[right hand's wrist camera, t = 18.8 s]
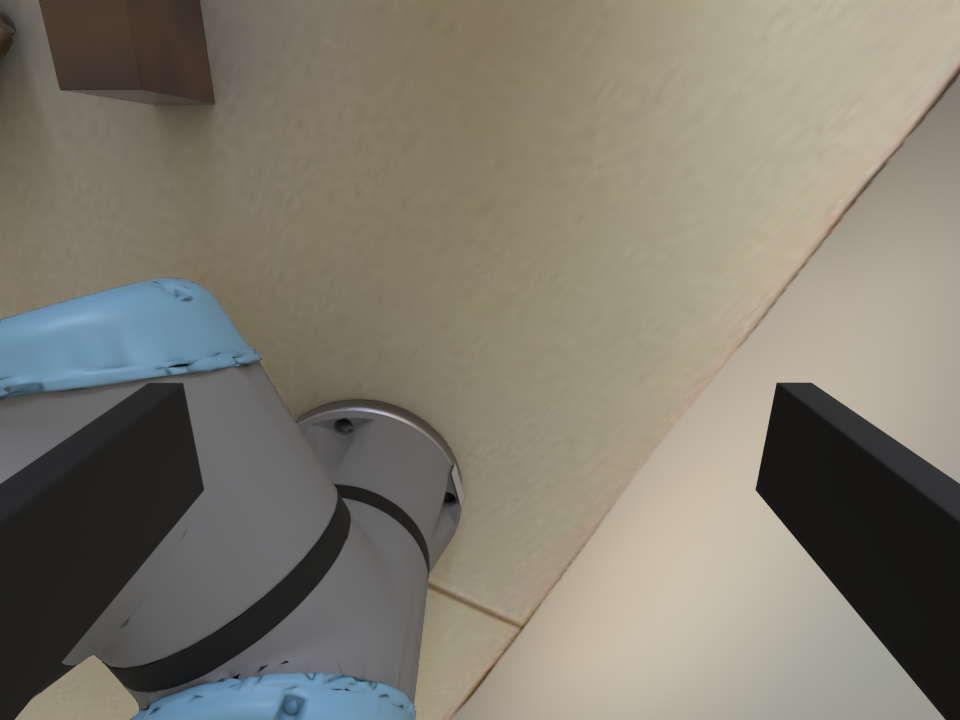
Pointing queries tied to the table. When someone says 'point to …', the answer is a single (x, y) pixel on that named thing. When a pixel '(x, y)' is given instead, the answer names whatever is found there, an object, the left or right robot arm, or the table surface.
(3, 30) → the stone
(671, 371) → the table surface
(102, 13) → the walnut bar
